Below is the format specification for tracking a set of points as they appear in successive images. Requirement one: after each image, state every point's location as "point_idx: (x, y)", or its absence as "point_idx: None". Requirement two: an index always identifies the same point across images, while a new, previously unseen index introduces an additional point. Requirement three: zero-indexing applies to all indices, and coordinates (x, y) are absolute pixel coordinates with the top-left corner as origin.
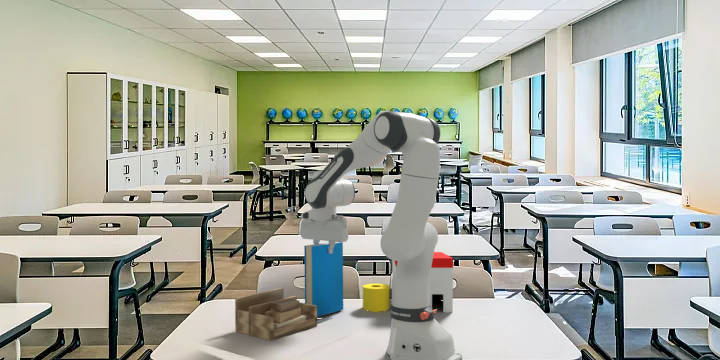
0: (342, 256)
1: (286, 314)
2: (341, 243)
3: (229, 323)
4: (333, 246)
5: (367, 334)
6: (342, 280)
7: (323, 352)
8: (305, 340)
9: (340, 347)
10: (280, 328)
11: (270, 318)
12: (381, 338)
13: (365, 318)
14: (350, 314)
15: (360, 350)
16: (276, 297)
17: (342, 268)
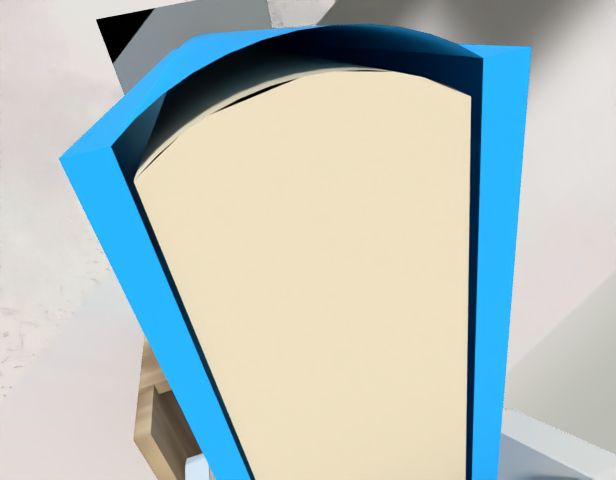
0: (342, 52)
1: None
2: (497, 119)
3: (105, 476)
4: (557, 440)
5: (531, 179)
6: (267, 46)
7: (522, 351)
8: None
9: (534, 306)
10: None
11: None
12: (586, 171)
13: (391, 15)
14: (277, 18)
15: (584, 279)
16: (171, 431)
17: (291, 47)
